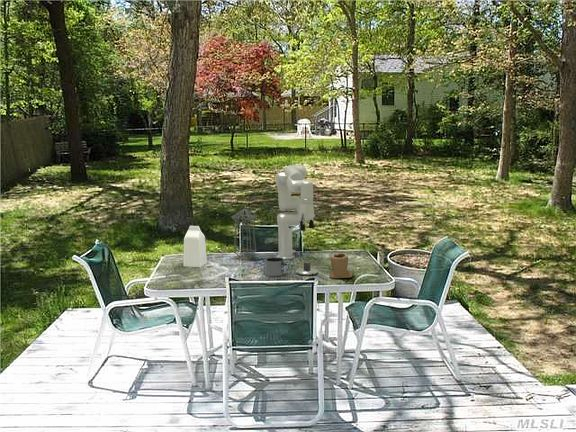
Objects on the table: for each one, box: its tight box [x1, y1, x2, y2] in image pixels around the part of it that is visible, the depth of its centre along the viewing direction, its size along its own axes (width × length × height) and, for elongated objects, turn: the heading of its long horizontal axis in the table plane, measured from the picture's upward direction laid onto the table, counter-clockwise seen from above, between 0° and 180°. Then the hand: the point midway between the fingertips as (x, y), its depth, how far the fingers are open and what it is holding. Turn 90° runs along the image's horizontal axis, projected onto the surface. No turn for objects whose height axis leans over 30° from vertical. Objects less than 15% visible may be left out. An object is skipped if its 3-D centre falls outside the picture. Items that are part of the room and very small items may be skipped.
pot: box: [262, 256, 288, 277], centre depth 342 cm, size 12×17×9 cm
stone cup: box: [328, 252, 354, 279], centre depth 332 cm, size 15×12×15 cm
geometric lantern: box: [231, 208, 259, 261], centre depth 383 cm, size 16×16×35 cm
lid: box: [295, 261, 319, 276], centre depth 343 cm, size 14×14×7 cm
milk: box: [182, 225, 208, 268], centre depth 366 cm, size 12×12×26 cm
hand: (307, 229), depth 339 cm, fingers open, 9 cm apart
